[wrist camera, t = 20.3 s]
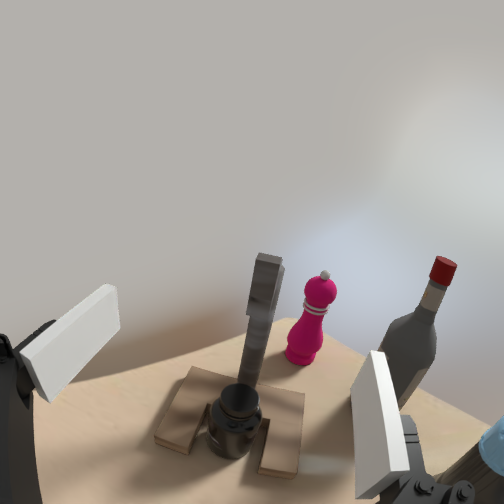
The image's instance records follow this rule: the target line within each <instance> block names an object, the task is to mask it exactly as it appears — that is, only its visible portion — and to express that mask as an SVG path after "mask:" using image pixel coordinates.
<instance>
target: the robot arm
mask: <svg viewBox="0 0 504 504" xmlns="http://www.w3.org/2000/svg"><path fill="white" fill-rule="evenodd" d="M119 329H120V320H119V311H118V301H117V288H116V287H114V286H111V285H108V284H106V283H105V284H104V285H103V286H101V287H100V288H99V289H97V290H96V291H95V292H93V293H92V294H91V295H90V296H88V297H87V298H86V299H84V300H83V301H82V302H80V303H79V304H78V305H76V306H75V307H74V308H72V309H71V310H70V311H69V312H67V313H66V314H65V315H64V316H62V317H61V318H60V319H59V320H57V321H56V320H52V321H49V322H47V323H45V324H43V325H42V326H41V327H40V328H38V330H36V331H35V332H33V334H31V335H30V336H29V337H27V338H26V339H25V340H24V341H22V342H21V343H20V344H19V345H18V346H16V347H15V348H14V349H12V346H11V344H10V341H9V339H8V337H7V336H6V335H4V334H0V504H43V503H42V498H41V493H40V487H39V481H38V474H37V466H36V457H35V445H34V426H33V392H32V390H33V389H34V388H36V390H37V392H38V394H39V396H41V397H42V398H43V399H45V400H46V401H47V402H49V403H51V402H52V401H53V400H54V399H55V398H56V397H57V395H58V394H59V393H60V392H61V391H62V390H63V389H64V388H65V387H66V385H67V384H68V383H69V382H70V381H71V380H72V379H73V378H74V377H75V376H76V375H77V373H78V372H79V371H80V370H81V369H82V368H83V367H84V366H85V365H86V364H87V363H88V362H89V361H90V360H91V358H92V357H93V356H94V355H95V354H96V353H97V352H98V351H99V350H100V349H101V348H102V347H103V346H104V345H105V344H106V343H107V342H108V341H109V339H110V338H112V336H114V334H115V333H116V332H117V331H118V330H119ZM350 390H351V402H352V415H353V430H354V451H355V499H373V498H374V497H376V496H377V495H378V494H380V501H378V502H377V503H375V504H504V416H502V418H501V419H500V420H499V421H498V422H497V423H496V424H495V425H494V426H493V427H491V428H490V429H488V430H487V431H486V432H485V433H484V434H483V436H482V437H481V439H480V441H479V442H478V443H477V444H476V445H474V446H473V447H472V448H471V449H470V450H469V451H468V452H467V453H466V454H465V455H464V456H462V457H461V458H460V459H459V460H458V461H457V462H456V463H454V464H453V465H452V466H451V467H450V468H449V469H447V470H446V471H445V472H443V473H440V474H437V475H434V476H431V475H430V474H427V473H426V471H425V466H424V461H423V456H422V451H421V446H420V443H419V437H418V436H417V434H418V432H417V428H416V424H415V422H414V421H413V419H412V418H411V417H410V415H400V413H399V409H398V404H397V400H396V396H395V391H394V387H393V383H392V379H391V376H390V372H389V368H388V364H387V361H386V357H385V353H384V352H378V351H370V352H369V354H368V356H367V358H366V360H365V362H364V364H363V366H362V368H361V370H360V372H359V374H358V376H357V377H356V379H355V381H354V383H353V385H352V386H351V388H350Z"/></svg>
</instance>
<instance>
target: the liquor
mask: <svg viewBox="0 0 504 504" xmlns="http://www.w3.org/2000/svg"><path fill="white" fill-rule="evenodd" d="M456 268H457V264H456V263H454V262H453V261H451V260H449V259H447V258H444V257H441V256H437V257H436V259H435V262H434V264H433V267H432V270H431V273H430V275H429V277H430V280H429V282H428V285H427V287H426V290H425V292H424V294H423V297H422V299H421V301H420V303H419V305H418V306H417V307H416V309H415V311H414V312H413V313H410V314H408V315H405V316H403V317H400V318H398V319H395V320H394V321H393V322H392V323H391V324H390V326H389V328H388V330H387V332H386V334H385V337H384V338H383V341H382V343H381V345H380V347H379V349H378V352H384V353H385V357H386V361H387V364H388V368H389V372H390V376H391V379H392V383H393V387H394V391H395V396H396V400H397V404H398V409H399V411H400V410H401V408H402V407H403V406H404V404H405V403H406V402H407V400H408V399H409V397H410V396H411V395H412V393H413V392H414V390H415V389H416V387H417V386H418V384H419V383H420V381H421V380H422V378H423V377H424V375H425V374H426V372H427V371H428V369H429V367H430V366H431V364H432V363H433V361H434V358H435V354H436V340H437V337H436V332H435V328H434V319H435V315H436V313H437V311H438V308H439V306H440V304H441V302H442V299H443V297H444V295H445V292H446V290H447V287H448V286H449V285H450V283H451V281H452V279H453V276H454V273H455V271H456ZM351 406H352V402H351Z"/></svg>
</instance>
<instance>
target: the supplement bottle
mask: <svg viewBox="0 0 504 504" xmlns="http://www.w3.org/2000/svg"><path fill="white" fill-rule="evenodd" d="M259 403H260V397H259V395H258V392H256V390H255V389H254V388H252V387H251V386H248V385H246V384H241V383H235V384H230V385H228V386H226V387H225V388H224V389H223V390H222V392H221V394H220V397H219V398H217V399H216V400H215V401H214V402H213V404H212V405H211V408H210V413H209V421H208V429H207V444H208V446H209V448H210V449H211V451H212V452H213V453H215V454H216V455H218V456H220V457H222V458H226V459H236V458H240V457H242V456H244V455H246V454H247V453H248V452H249V451H250V449H251V447H252V445H253V443H254V440H255V438H256V435H257V433H258V430H259V428H260V425H261V422H262V411H261V408H260V406H259Z"/></svg>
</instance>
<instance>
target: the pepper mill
mask: <svg viewBox="0 0 504 504" xmlns="http://www.w3.org/2000/svg"><path fill="white" fill-rule="evenodd" d="M329 278H330V273H329V272H328V271H326V270H325V271H322V272H321V274H320V276H316V277H313V278H311V279H310V280H309V281H308V282H307V283H306V286H305V289H304V293H305V296H306V298H305V299H304V303H303V307H304V312H303V314H302V316H301V318H300V319H299V320H298V322H297V323H296V324H295V325H294V326H293V327H292V329H291V330H290V332H289V334H288V337H287V341H288V345H287V348H286V352H285V354H286V357H287V358H288V360H290V361H291V362H292V363H294V364H297V365H308V364H310V363H312V362H313V360H314V358H315V355H316V352H317V351H319V350H320V348H321V346H322V342H323V332H322V321H323V317H324V315H325V314H326V313H328V309H329V307H330V304H331V303H332V302H333V301H334V300H335V298H336V294H337V289H336V286H335V284H334V282H333V281H332V280H330V279H329Z"/></svg>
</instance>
